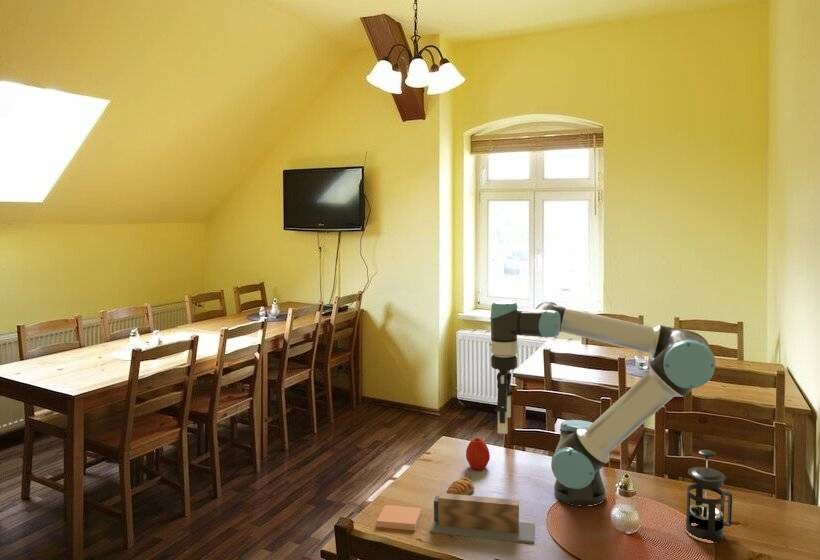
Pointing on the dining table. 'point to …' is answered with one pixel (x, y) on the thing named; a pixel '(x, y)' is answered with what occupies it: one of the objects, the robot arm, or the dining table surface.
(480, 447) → the red vase
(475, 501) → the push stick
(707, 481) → the french press
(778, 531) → the dining table surface
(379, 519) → the tile
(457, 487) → the pastry
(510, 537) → the mat
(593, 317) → the robot arm
